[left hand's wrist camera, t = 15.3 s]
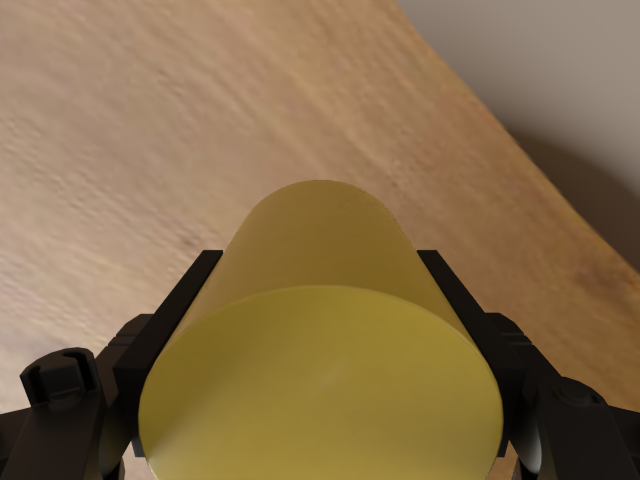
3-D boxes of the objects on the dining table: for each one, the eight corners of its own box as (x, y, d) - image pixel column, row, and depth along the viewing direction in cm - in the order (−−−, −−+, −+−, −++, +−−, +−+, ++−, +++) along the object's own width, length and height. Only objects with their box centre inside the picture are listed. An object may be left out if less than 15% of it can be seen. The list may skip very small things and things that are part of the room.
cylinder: (202, 285, 16) (79, 477, 8) (295, 141, 14) (259, 201, 5) (339, 362, 17) (357, 591, 9) (443, 244, 15) (585, 411, 7)
